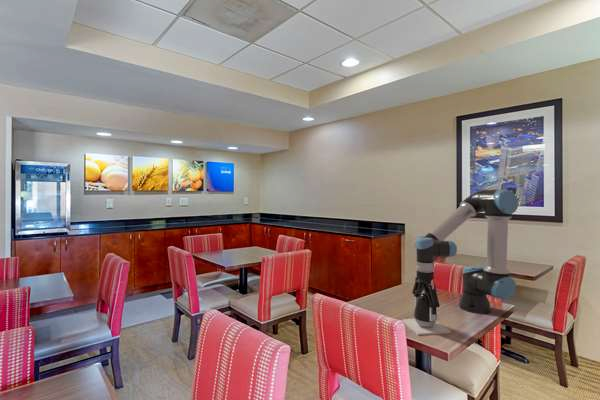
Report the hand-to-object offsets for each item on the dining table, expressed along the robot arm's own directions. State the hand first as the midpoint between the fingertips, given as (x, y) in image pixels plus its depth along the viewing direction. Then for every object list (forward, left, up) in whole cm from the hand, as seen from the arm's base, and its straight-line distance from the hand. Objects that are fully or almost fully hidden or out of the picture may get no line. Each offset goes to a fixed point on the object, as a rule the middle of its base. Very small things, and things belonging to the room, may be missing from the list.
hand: (425, 315), depth 151 cm
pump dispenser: (0, 0, -5) cm, 5 cm away
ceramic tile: (0, 0, -5) cm, 5 cm away
